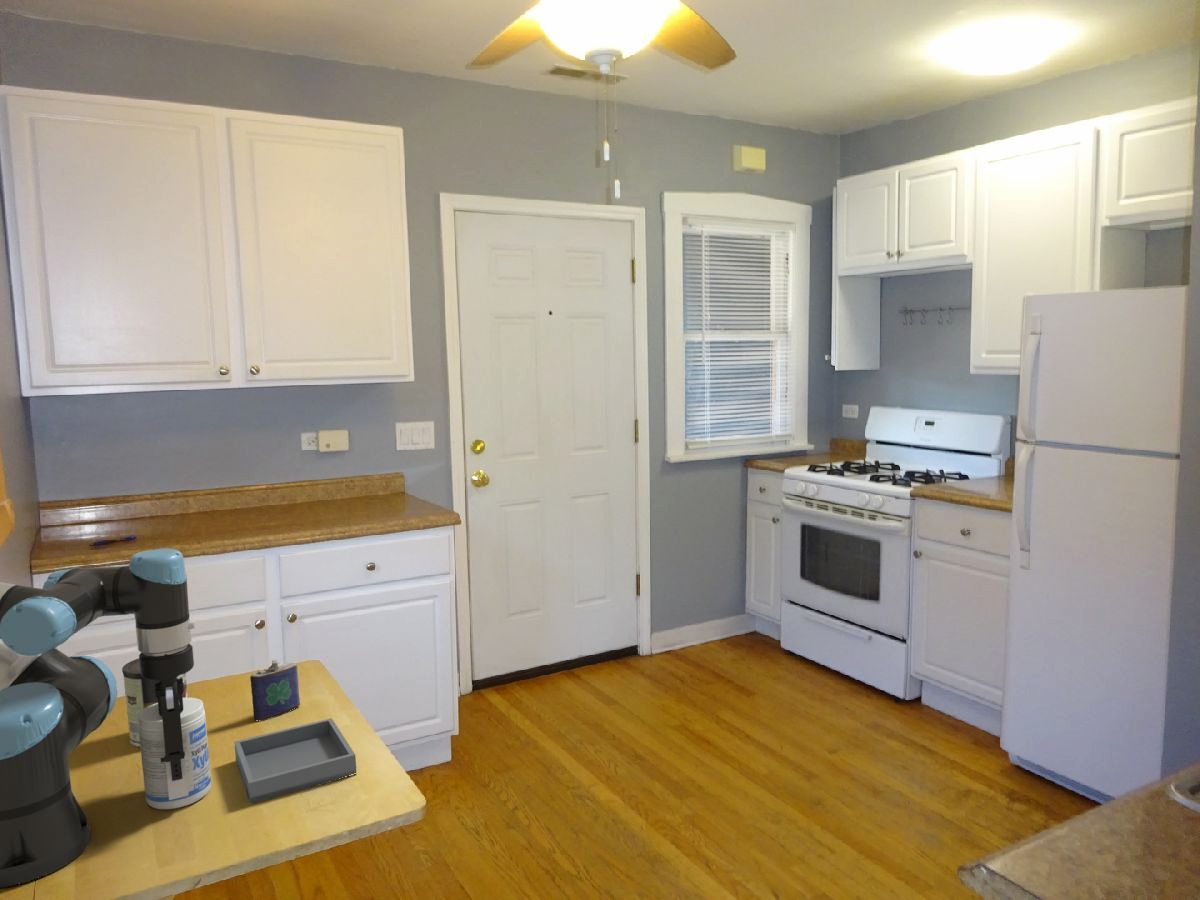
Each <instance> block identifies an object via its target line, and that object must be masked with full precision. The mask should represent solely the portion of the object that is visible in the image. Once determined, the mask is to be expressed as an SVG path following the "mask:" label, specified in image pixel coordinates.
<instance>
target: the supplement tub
mask: <svg viewBox="0 0 1200 900" xmlns="http://www.w3.org/2000/svg"><path fill="white" fill-rule="evenodd" d="M205 711H206V710H205V708H204V703H203V701H202V700H201V699H198V698H195V697H188V698H183V712H181V714H180V718H181V728H182V739H183V751H184V752H185V761H186V772H187V783H188V794H189V796H184V797H180V798H176V799H172V800H169V793H168V783H167V772H166V762H162V763H161V759H160V758H164V757H165V755H166V754H165V743H164V731H163V720H162V716H160V715H159V709H158V703H156V704H153V705H151V706H149V707H147V708H145V709H144V710H143V711H141V713H140V714H139V724H138V726H139V738H140V747H139V748H140V755H141V763H142V764H141V765H142V775H143V785H144V794H145V796H144V797H145V801H146V803H147V804H148V805H149V806H150V807H151V808H153V809H157V810H173V809H179V808H182V807H186V806H189V805H191V804H194V803H195V802H198V801H199V800H201V799H202V798H203V797H205V796H206V795H208V793H209V792H210V790H211V788H212V776H211V766H210V755H209V743H208V732H207V730H208V729H207V719H206V712H205Z"/></svg>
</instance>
